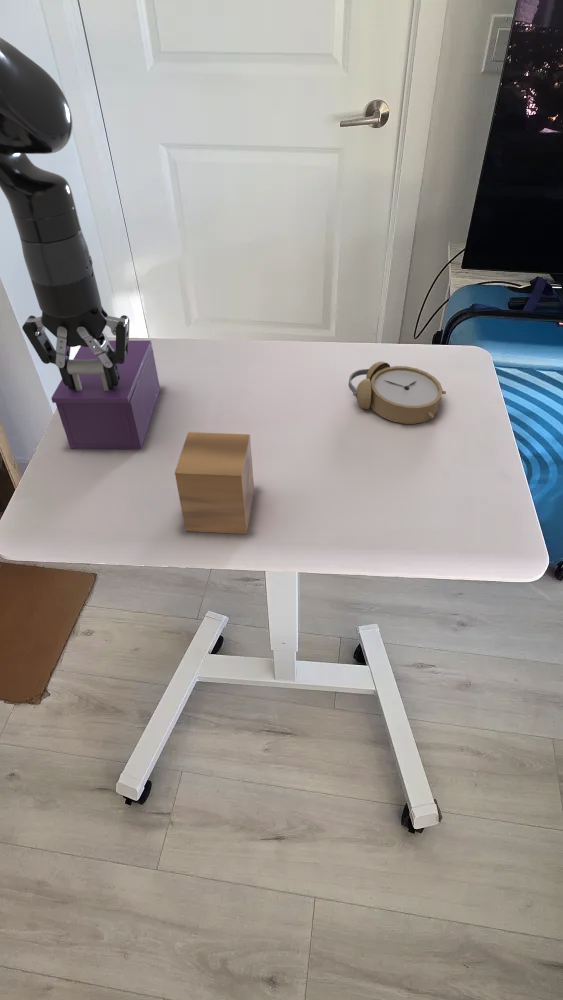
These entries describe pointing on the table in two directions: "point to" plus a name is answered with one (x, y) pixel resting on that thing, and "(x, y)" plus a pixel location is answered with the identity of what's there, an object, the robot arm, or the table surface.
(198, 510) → the stand
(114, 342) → the lid
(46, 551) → the table surface
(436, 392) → the alarm clock
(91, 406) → the box
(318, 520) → the table surface
